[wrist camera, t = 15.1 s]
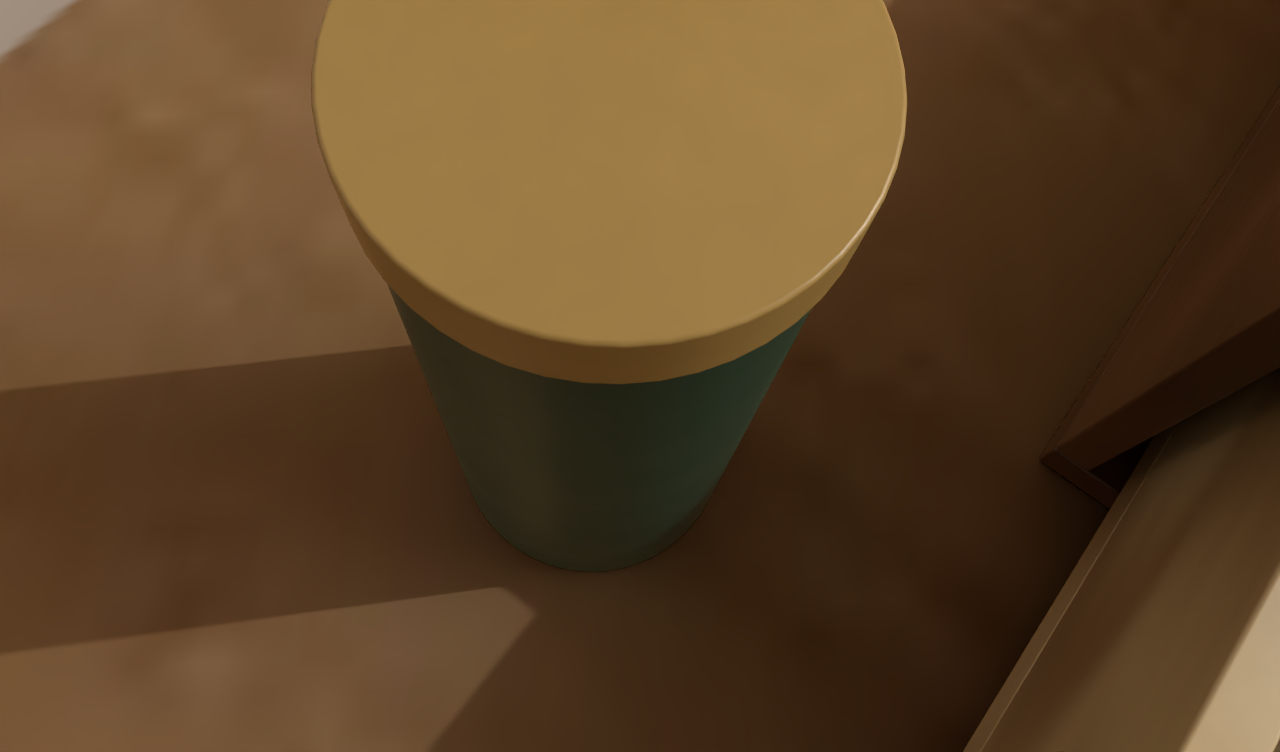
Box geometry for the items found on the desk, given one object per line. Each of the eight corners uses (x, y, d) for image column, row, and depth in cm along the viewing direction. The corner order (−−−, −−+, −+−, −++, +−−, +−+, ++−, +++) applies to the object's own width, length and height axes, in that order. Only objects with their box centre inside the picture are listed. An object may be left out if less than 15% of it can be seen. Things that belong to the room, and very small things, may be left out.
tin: (650, 628, 18) (756, 459, 7) (405, 498, 18) (183, 167, 8) (769, 392, 19) (994, -22, 9) (540, 278, 20) (502, -241, 10)
